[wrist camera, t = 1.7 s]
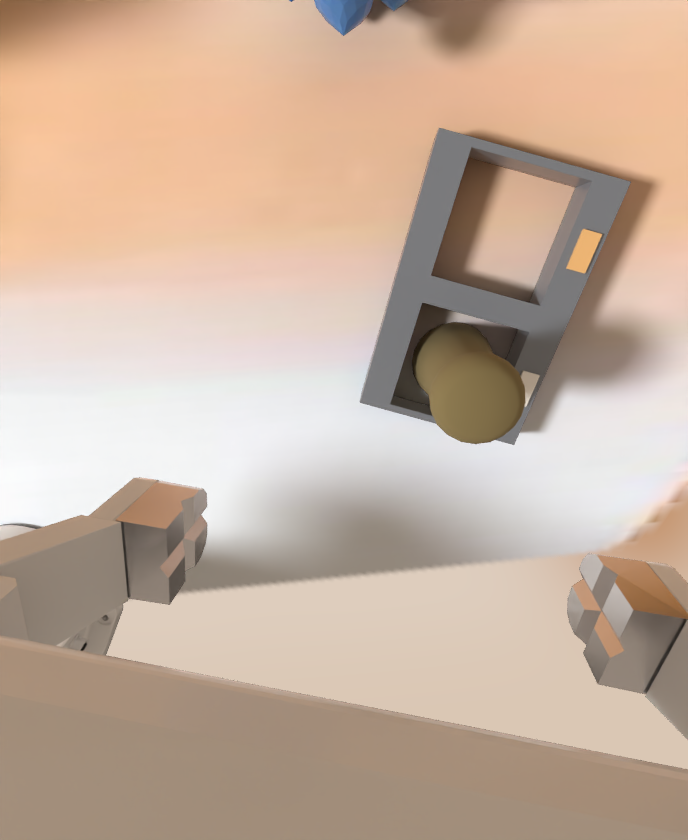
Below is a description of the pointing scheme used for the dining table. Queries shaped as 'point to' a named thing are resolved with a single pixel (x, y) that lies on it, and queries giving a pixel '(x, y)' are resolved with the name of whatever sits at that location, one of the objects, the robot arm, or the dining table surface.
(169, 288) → the dining table surface
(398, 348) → the panel
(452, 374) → the cork
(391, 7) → the grapes
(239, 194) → the dining table surface
